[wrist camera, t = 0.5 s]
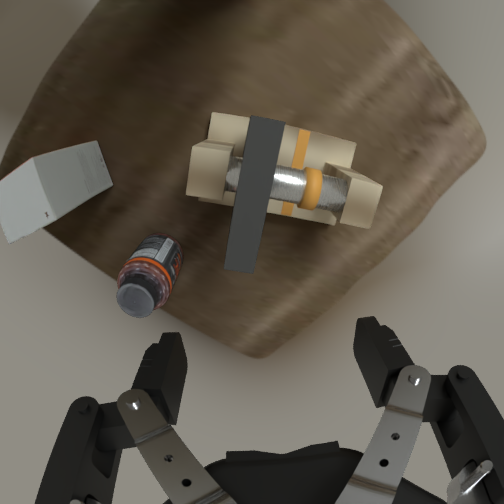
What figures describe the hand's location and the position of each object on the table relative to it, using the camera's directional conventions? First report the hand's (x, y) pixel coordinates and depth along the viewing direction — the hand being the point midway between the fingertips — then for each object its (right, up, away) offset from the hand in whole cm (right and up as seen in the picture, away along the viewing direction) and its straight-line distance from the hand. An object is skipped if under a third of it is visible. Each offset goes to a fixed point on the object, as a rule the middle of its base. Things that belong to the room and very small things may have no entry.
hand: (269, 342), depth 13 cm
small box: (-22, +14, +20) cm, 33 cm away
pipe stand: (+2, +14, +20) cm, 24 cm away
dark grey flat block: (-1, +12, +16) cm, 20 cm away
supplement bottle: (-12, +4, +25) cm, 28 cm away
